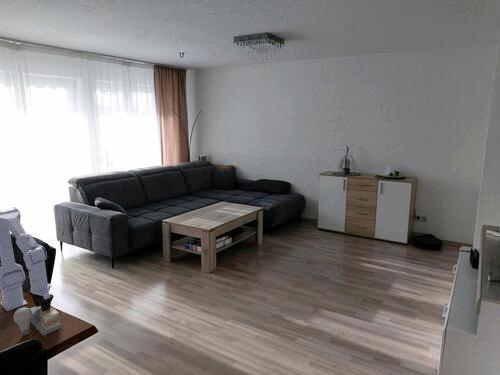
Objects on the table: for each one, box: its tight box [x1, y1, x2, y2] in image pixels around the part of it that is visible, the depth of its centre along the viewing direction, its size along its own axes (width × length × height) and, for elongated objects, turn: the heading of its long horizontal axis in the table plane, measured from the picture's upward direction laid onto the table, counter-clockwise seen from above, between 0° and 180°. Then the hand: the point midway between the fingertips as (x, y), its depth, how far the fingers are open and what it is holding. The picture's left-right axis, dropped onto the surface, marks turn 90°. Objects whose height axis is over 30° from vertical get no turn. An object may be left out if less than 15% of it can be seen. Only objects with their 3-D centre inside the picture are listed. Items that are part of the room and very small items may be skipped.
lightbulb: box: [13, 306, 33, 336], centre depth 137 cm, size 6×6×11 cm
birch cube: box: [40, 307, 61, 330], centre depth 139 cm, size 5×5×5 cm
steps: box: [28, 305, 62, 336], centre depth 144 cm, size 14×6×6 cm, turn 49°
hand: (42, 309), depth 143 cm, fingers open, 7 cm apart
